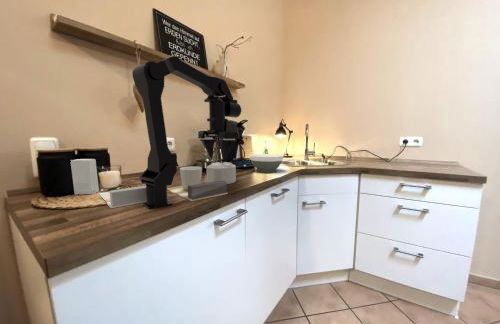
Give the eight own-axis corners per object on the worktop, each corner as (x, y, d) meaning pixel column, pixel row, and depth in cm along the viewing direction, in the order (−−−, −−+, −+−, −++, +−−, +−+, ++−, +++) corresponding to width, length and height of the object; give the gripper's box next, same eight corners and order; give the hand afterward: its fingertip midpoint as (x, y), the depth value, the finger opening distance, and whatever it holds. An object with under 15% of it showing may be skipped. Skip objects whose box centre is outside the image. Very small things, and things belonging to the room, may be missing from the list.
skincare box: (99, 191, 81) (97, 158, 80) (92, 194, 77) (89, 159, 75) (81, 192, 81) (78, 158, 79) (72, 195, 76) (69, 160, 75)
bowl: (271, 175, 117) (272, 157, 116) (243, 171, 129) (242, 155, 128) (289, 170, 132) (289, 154, 131) (262, 167, 144) (262, 153, 143)
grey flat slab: (161, 199, 71) (160, 185, 71) (110, 208, 62) (109, 192, 62) (142, 188, 86) (141, 177, 86) (99, 194, 77) (98, 181, 76)
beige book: (227, 193, 78) (227, 181, 78) (191, 201, 69) (190, 187, 69) (199, 184, 93) (199, 174, 93) (166, 189, 84) (165, 178, 83)
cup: (173, 187, 86) (172, 167, 85) (191, 184, 91) (191, 165, 90) (187, 192, 78) (186, 170, 77) (206, 189, 84) (206, 167, 83)
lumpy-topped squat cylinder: (203, 182, 99) (203, 162, 98) (227, 178, 108) (226, 160, 107) (217, 186, 91) (217, 165, 90) (241, 181, 100) (241, 162, 99)
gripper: (250, 115, 80) (250, 158, 82) (221, 118, 94) (221, 155, 95) (225, 113, 72) (225, 161, 74) (197, 116, 86) (198, 157, 88)
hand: (217, 158), depth 83 cm, fingers open, 9 cm apart
